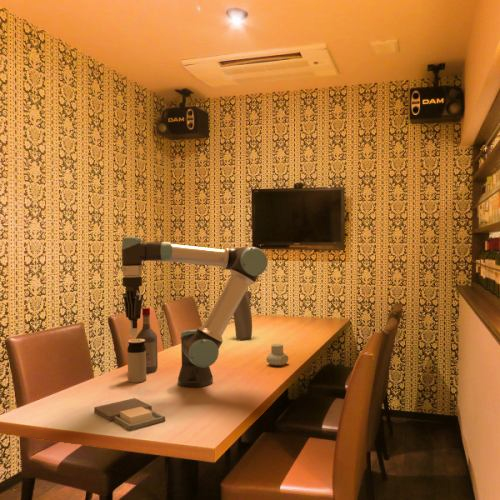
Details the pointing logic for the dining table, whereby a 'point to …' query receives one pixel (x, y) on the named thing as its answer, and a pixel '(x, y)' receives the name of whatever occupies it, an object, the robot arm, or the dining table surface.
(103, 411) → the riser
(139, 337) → the liquor
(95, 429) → the dining table surface
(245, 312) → the vase
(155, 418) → the tray
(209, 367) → the robot arm
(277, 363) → the air freshener
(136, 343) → the travel mug
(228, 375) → the dining table surface
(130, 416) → the coaster
